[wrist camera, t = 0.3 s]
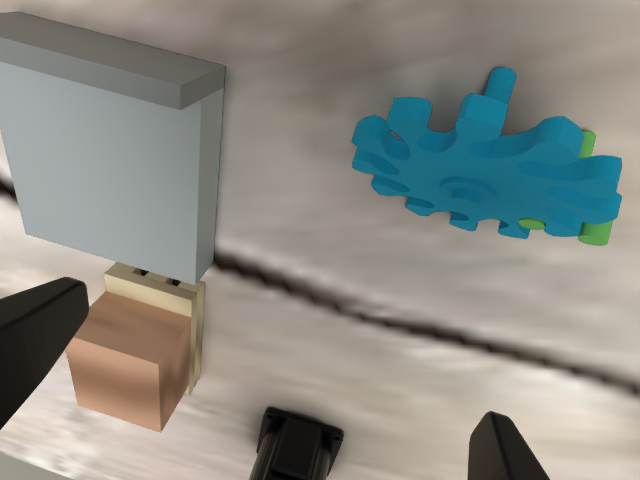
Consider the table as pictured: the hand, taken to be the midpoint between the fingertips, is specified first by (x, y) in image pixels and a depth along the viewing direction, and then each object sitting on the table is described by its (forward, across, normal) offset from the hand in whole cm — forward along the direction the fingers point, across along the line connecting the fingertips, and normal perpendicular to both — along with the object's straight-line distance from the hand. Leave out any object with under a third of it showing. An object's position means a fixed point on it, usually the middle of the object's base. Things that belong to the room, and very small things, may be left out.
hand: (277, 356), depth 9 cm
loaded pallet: (+14, +11, +17) cm, 25 cm away
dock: (+14, +13, +4) cm, 19 cm away
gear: (+14, -5, -1) cm, 15 cm away
